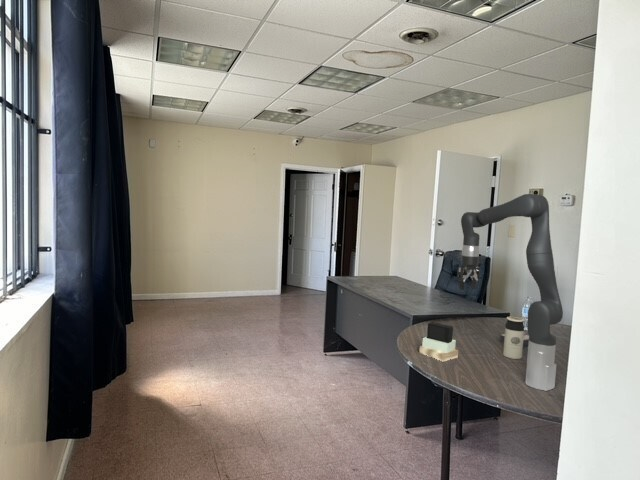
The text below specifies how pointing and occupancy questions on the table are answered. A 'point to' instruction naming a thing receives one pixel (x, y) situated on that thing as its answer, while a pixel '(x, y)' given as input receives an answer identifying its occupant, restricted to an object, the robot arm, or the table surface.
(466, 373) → the table surface
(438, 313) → the table surface
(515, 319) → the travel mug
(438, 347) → the block top
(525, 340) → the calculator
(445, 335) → the digital camera
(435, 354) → the block bottom
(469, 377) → the table surface
